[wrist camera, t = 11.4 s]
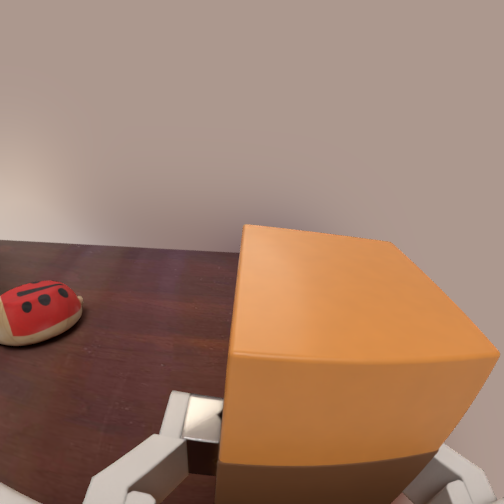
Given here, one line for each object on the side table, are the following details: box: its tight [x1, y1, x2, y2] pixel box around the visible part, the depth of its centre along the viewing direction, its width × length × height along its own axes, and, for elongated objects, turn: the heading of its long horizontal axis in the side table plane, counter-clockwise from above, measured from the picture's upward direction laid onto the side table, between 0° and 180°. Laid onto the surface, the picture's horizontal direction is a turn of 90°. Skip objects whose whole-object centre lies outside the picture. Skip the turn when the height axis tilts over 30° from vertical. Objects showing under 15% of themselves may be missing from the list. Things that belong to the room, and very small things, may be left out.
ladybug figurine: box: [0, 281, 83, 346], centre depth 23 cm, size 7×10×4 cm
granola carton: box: [214, 224, 500, 504], centre depth 8 cm, size 5×4×11 cm
